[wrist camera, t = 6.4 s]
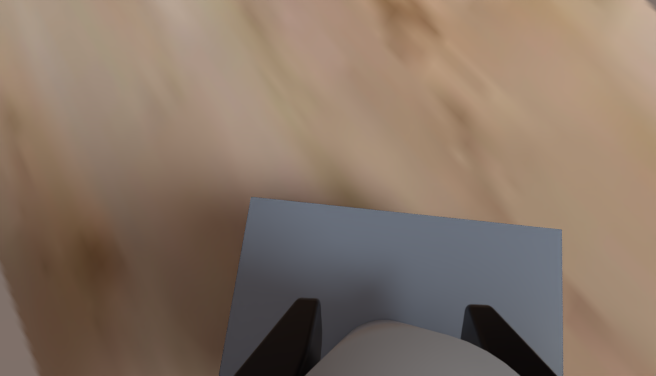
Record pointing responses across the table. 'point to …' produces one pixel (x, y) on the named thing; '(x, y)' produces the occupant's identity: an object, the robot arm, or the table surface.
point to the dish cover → (394, 288)
